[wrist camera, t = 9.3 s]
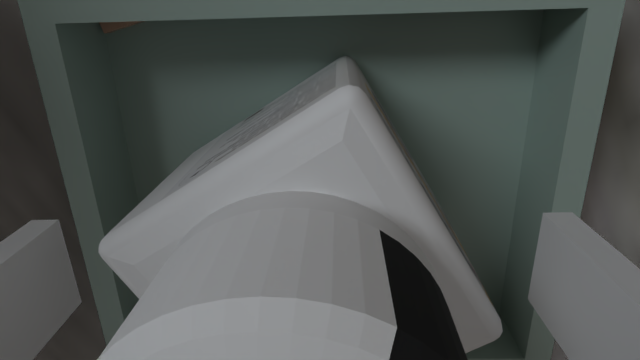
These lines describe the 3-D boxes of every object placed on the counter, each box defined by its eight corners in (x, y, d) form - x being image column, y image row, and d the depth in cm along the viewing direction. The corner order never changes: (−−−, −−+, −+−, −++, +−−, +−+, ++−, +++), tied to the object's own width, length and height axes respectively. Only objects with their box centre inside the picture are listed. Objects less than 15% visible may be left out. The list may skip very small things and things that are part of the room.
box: (147, 319, 22) (113, 373, 18) (79, -6, 16) (14, -11, 13) (514, 321, 21) (546, 378, 18) (570, -22, 15) (631, -32, 12)
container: (444, 211, 18) (651, 605, 6) (292, 290, 20) (219, 718, 8) (349, 50, 16) (378, 164, 4) (188, 154, 18) (-136, 457, 6)
